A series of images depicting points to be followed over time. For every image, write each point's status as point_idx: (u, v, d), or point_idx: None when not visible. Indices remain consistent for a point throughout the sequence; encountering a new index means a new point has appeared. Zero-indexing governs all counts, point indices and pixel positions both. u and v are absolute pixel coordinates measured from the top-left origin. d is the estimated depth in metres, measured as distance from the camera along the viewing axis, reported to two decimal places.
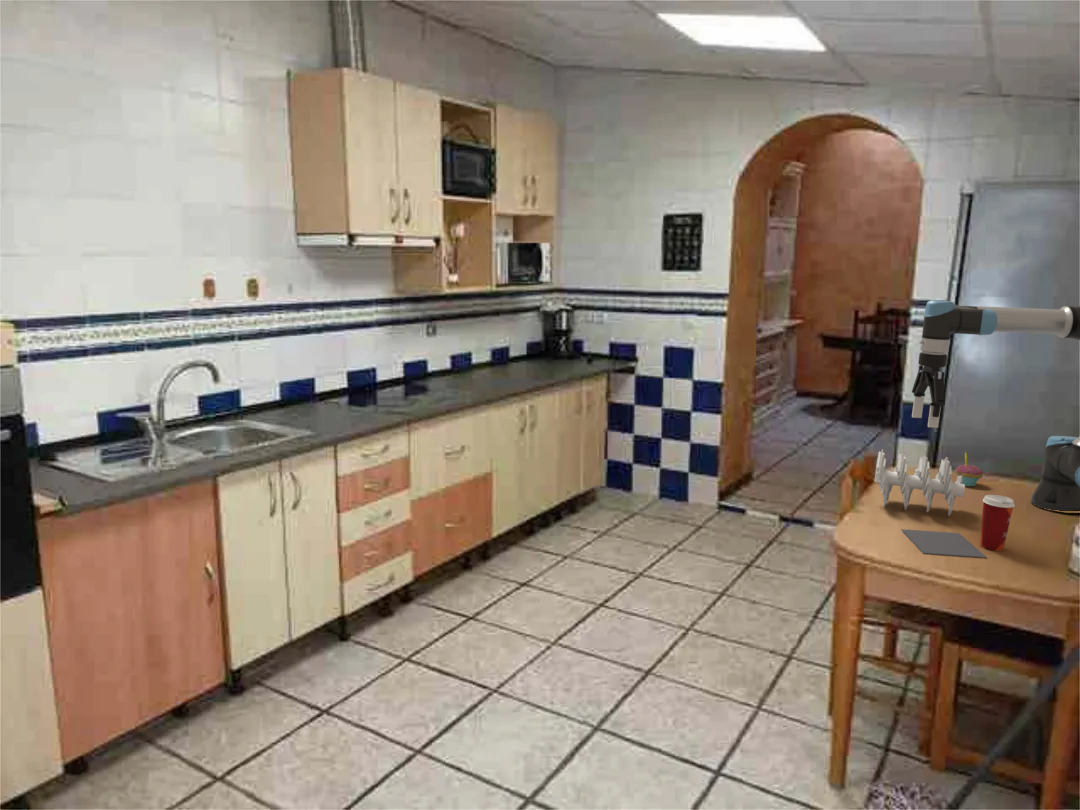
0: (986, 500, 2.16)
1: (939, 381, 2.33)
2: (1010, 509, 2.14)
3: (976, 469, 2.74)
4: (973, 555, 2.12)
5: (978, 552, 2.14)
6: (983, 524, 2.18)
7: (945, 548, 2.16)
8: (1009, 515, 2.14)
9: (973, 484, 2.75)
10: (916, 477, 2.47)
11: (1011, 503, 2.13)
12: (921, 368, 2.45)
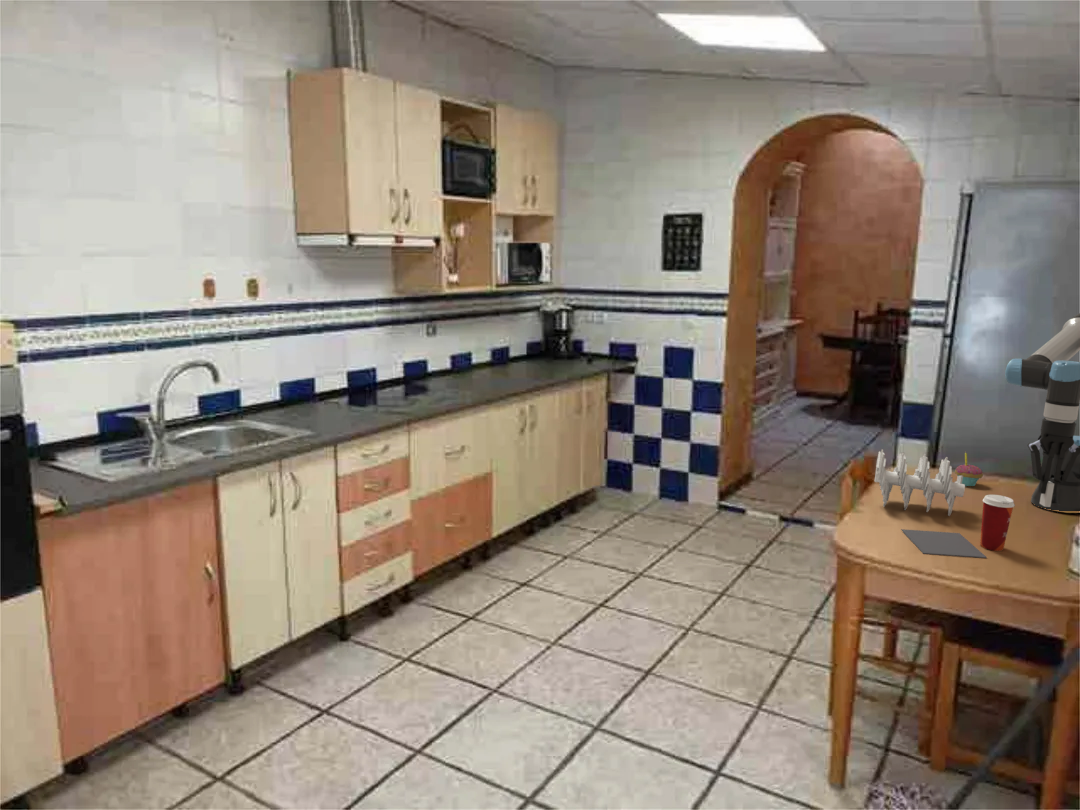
0: (986, 500, 2.16)
1: (1032, 454, 2.13)
2: (1010, 509, 2.14)
3: (976, 469, 2.74)
4: (973, 555, 2.12)
5: (978, 552, 2.14)
6: (983, 524, 2.18)
7: (945, 548, 2.16)
8: (1009, 515, 2.14)
9: (973, 484, 2.75)
10: (916, 477, 2.47)
11: (1011, 503, 2.13)
12: None
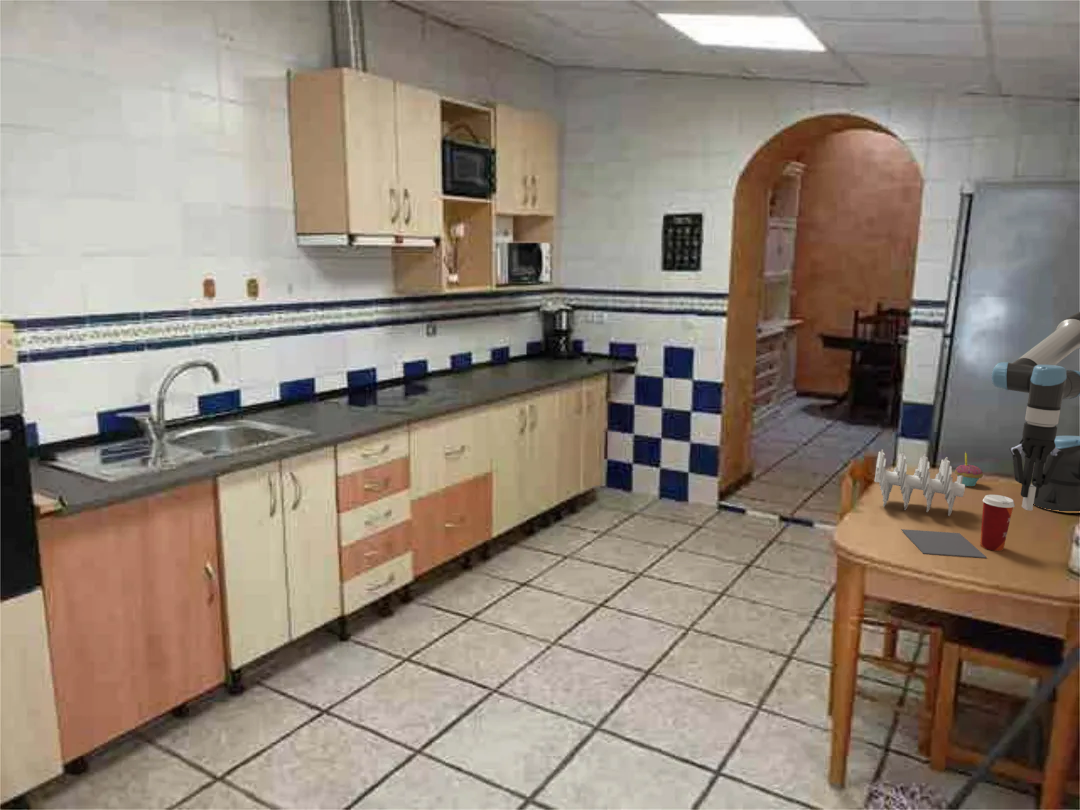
0: (986, 500, 2.16)
1: (1014, 458, 2.14)
2: (1010, 509, 2.14)
3: (976, 469, 2.74)
4: (973, 555, 2.12)
5: (978, 552, 2.14)
6: (983, 524, 2.18)
7: (945, 548, 2.16)
8: (1009, 515, 2.14)
9: (973, 484, 2.75)
10: (916, 477, 2.47)
11: (1011, 503, 2.13)
12: None
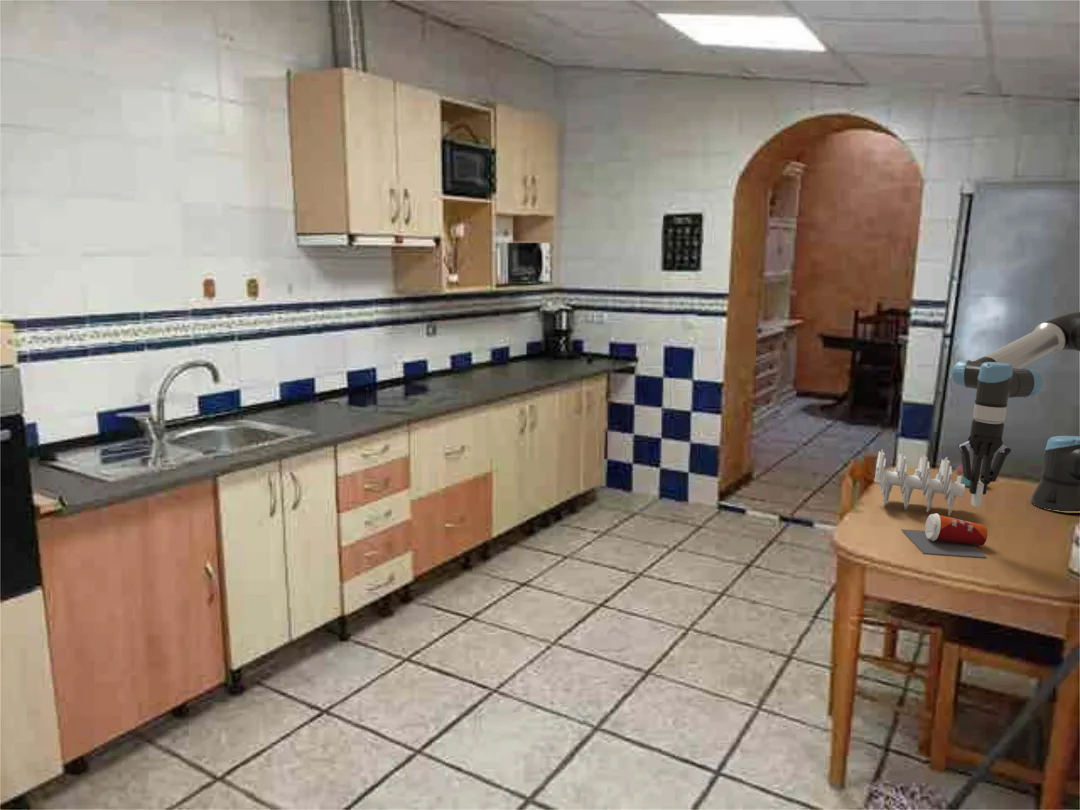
0: None
1: (962, 454, 2.15)
2: (942, 523, 2.17)
3: None
4: (973, 555, 2.12)
5: (978, 552, 2.14)
6: (956, 542, 2.20)
7: (945, 548, 2.16)
8: (949, 524, 2.17)
9: None
10: (916, 477, 2.47)
11: (936, 522, 2.17)
12: None
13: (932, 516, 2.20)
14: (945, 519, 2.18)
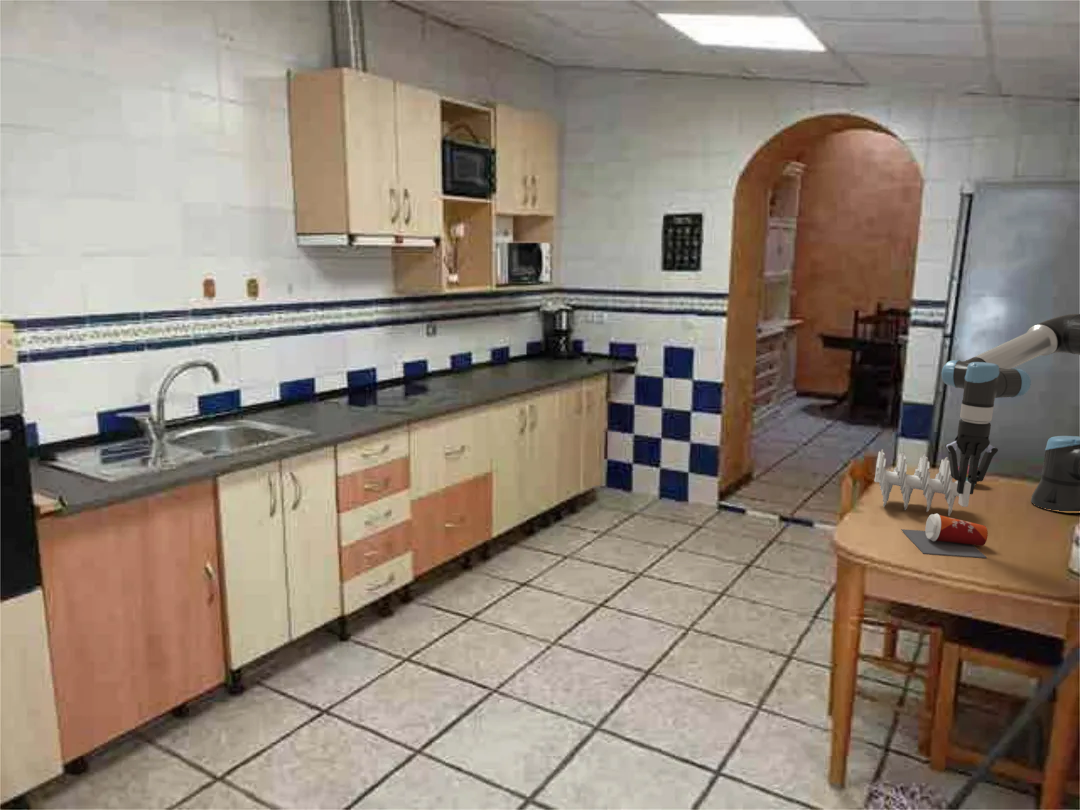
0: None
1: (950, 454, 2.15)
2: (943, 524, 2.17)
3: None
4: (973, 555, 2.12)
5: (978, 552, 2.14)
6: None
7: (945, 548, 2.16)
8: (949, 525, 2.17)
9: None
10: (916, 477, 2.47)
11: (936, 523, 2.17)
12: None
13: (933, 516, 2.19)
14: (946, 520, 2.18)
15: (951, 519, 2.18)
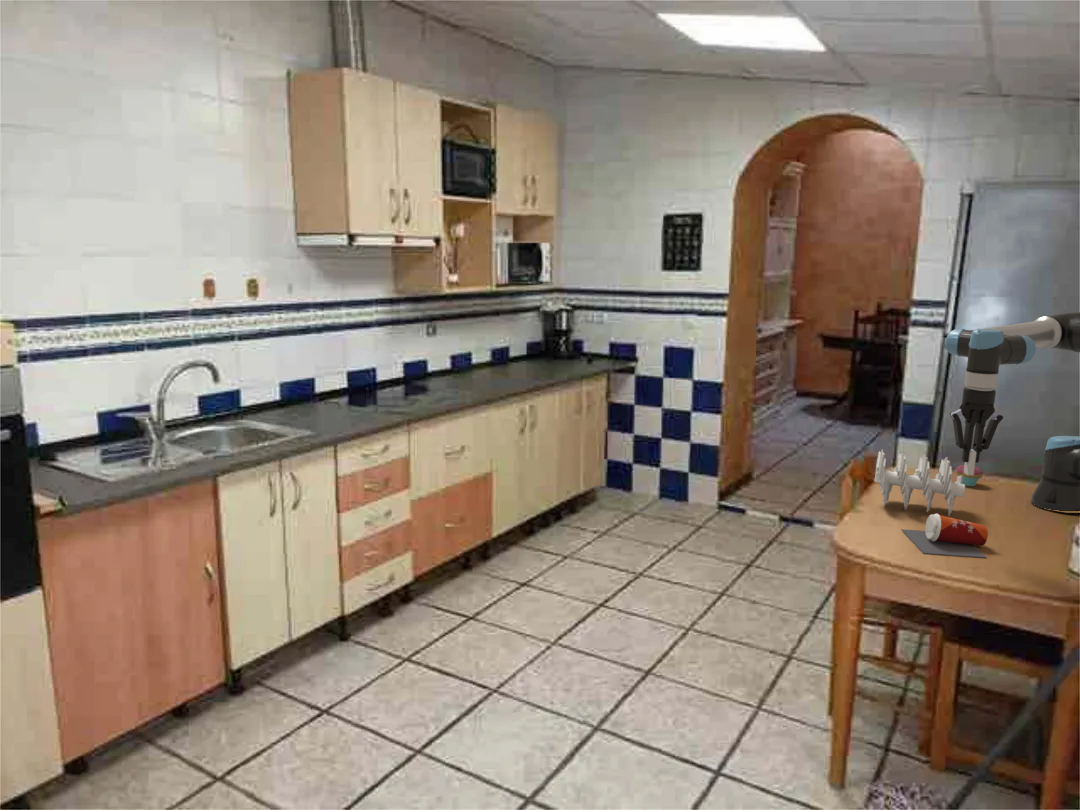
0: None
1: (954, 423, 2.14)
2: (943, 524, 2.17)
3: (976, 469, 2.74)
4: (973, 555, 2.12)
5: (978, 552, 2.14)
6: None
7: (945, 548, 2.16)
8: (949, 525, 2.17)
9: (973, 484, 2.75)
10: (916, 477, 2.47)
11: (937, 523, 2.17)
12: None
13: (933, 516, 2.19)
14: (946, 520, 2.18)
15: (951, 519, 2.18)
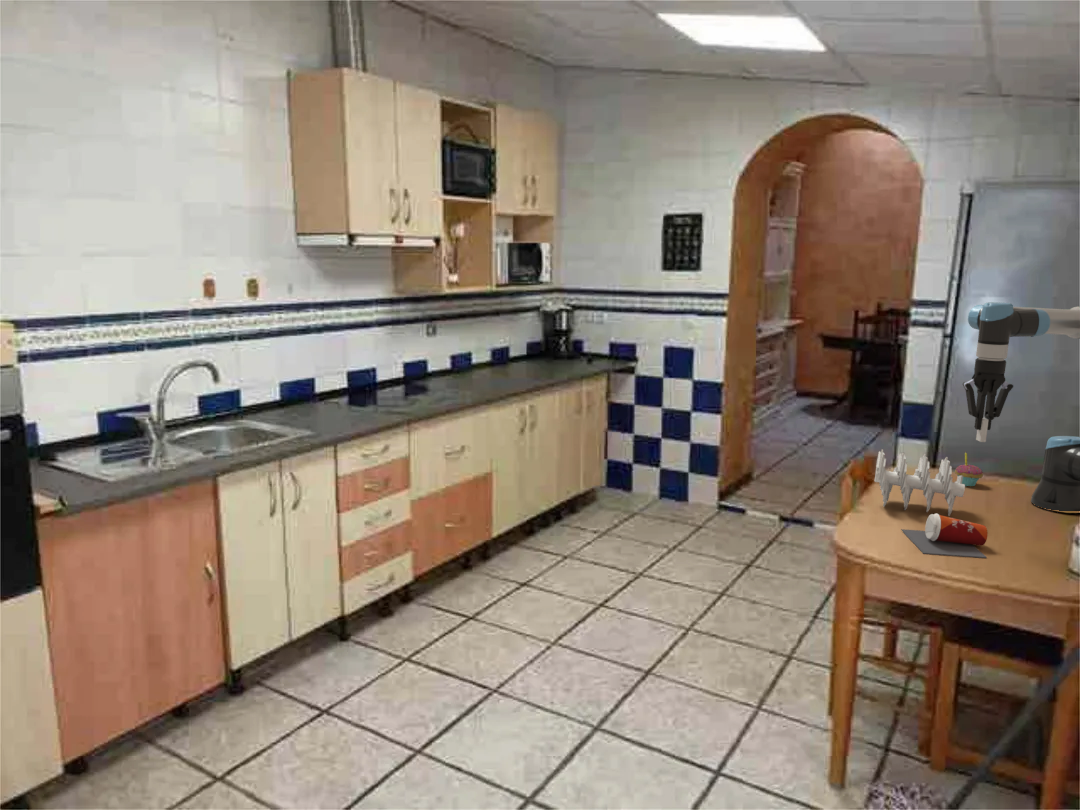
0: None
1: (967, 392, 2.25)
2: (943, 524, 2.17)
3: (976, 469, 2.74)
4: (973, 555, 2.12)
5: (978, 552, 2.14)
6: None
7: (945, 548, 2.16)
8: (949, 525, 2.17)
9: (973, 484, 2.75)
10: (916, 477, 2.47)
11: (936, 522, 2.17)
12: None
13: (932, 516, 2.20)
14: (945, 519, 2.18)
15: (951, 519, 2.18)
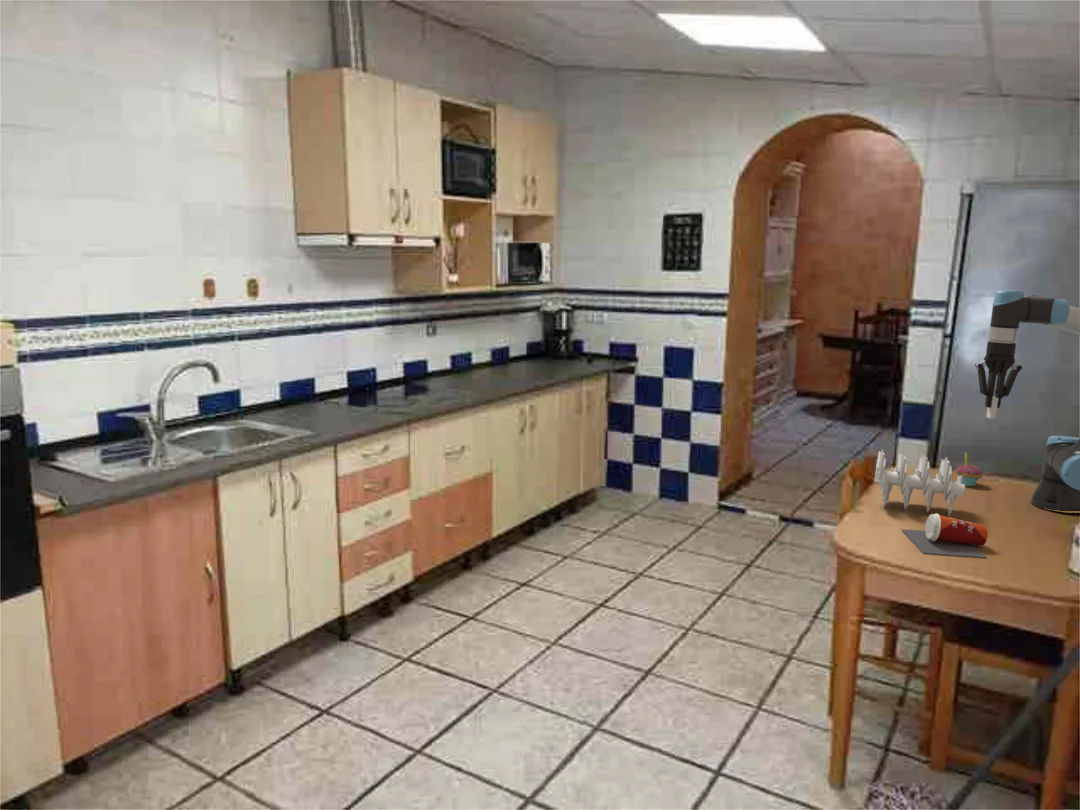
0: None
1: (979, 372, 2.43)
2: (943, 524, 2.17)
3: (976, 469, 2.74)
4: (973, 555, 2.12)
5: (978, 552, 2.14)
6: None
7: (945, 548, 2.16)
8: (949, 525, 2.17)
9: (973, 484, 2.75)
10: (916, 477, 2.47)
11: (936, 523, 2.17)
12: None
13: (932, 516, 2.19)
14: (945, 520, 2.18)
15: (951, 519, 2.18)
